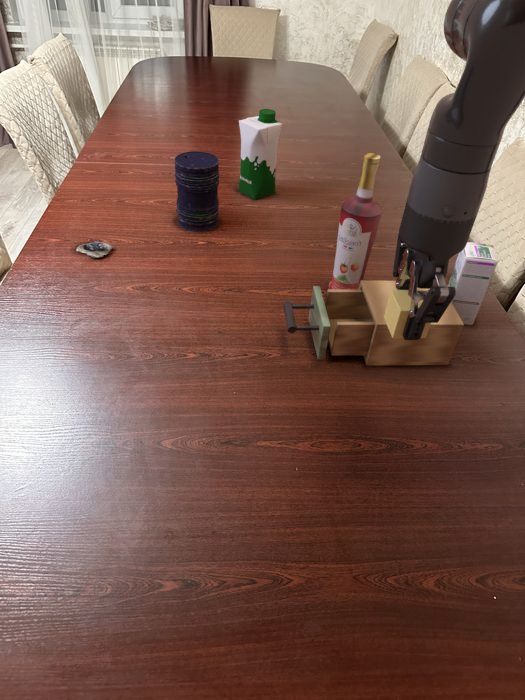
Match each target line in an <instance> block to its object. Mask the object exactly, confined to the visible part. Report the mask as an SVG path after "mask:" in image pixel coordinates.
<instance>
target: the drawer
mask: <svg viewBox="0 0 525 700" xmlns="http://www.w3.org/2000/svg"><path fill="white" fill-rule="evenodd" d="M326 291H327V292H326V297H325V300H324V296H323V292H322V289H321V286H320V285H313V286H312V293H311V298H310V299H311V300H310V304H309V303H308V304H307V303H296V304H295V303H292V302H291V301H288V300H287V301H285V302H284V303H283V312H284V317H285V323H286V324H285V325H286V329H287V332H288V333H289V334H294V333H296V332H297V331H311V335H312V340H313V344H314V348H315V349H314V350H315V353H316V358H317V360H325V358H326V353H327V348H328V347H329V351H330V354H331V356H363V355H368V351H369V347H370V343H371V339H372V335H373V332H374V328H375V323H374V320H373V318H372V315H371V312H370V310H369V307H368V304H367V301H366V299H365V296H364V293H363V291H362V290H348V289H329V288H328V289H327V290H326ZM294 310H309V312H308V322H309V325H297V323H296V319H295V314H294Z"/></svg>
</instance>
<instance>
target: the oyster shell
mask: <svg viewBox="0 0 525 700" xmlns="http://www.w3.org/2000/svg"><path fill="white" fill-rule="evenodd" d="M113 248H114V246H113V245H112V244H110V243H108V242H104V241H103V242H102V241H98V240H97V241H92V242H90V243H87V242H86V243H83V244H79V245H78V246H77V247H76V252H79V253H81V254H86V255H87V256H89V257H91V258H93V259H98V258H104V255H105V256H106V255H109V252H111V250H112V249H113Z"/></svg>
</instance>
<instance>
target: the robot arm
mask: <svg viewBox="0 0 525 700" xmlns="http://www.w3.org/2000/svg"><path fill="white" fill-rule="evenodd" d="M447 6H448V7H447V9H446V12H445V14H444V19H443V35H444V39H445V42H446V44H447V46H448V47H449V49H450V50H451V51H452V53H453V54H454V55H455V56H457V57H458V58H459V59H461V60H462V61H464V62H465V67H464V69H463V71H462V74H461V76H460V79H459V81H458V84H457V86H456V88H455V90H454V92H452V93H449V94H446V95H444V96H443V97H441V98H440V99H439V101H437V102H436V105H435V106H434V108H433V111H432V113H431V117H430V120H429V123H428V127H427V131H426V134H425V138H424V141H423V146H422V149H421V154H420V157H419V160H418V163H417V165H416V167H415V169H414V172H413V175H412V179H411V183H410V186H409V191H408V194H407V198H406V202H405V204H404V210H403V213H402V216H401V221H400V225H399V229H398V234H397V240H396V247H395V255H394V261H393V268H392V276H393V278H396V280H395V281H396V284H395V285H396V289H398V290H409V291H408V296H409V297H410V298H411V304H410V310H409V314H408V318H407V321H406V324H405V327H404V331H403V334H402V335H403V338H404V339H405V340H418V339H420V338H421V335H422V332H423V330H424V327H425V324H426V323H438V322H439V320H440V318H441V317H442V315H443V314H444V312H445V311H446V309H447V307H448V306H449V304H450V303H451V301H452V300H453V298H454V297H455V294H456V290H455V287H447V286H448V284H447V282H446V279H445V278H446V277H447V274H448V269H449V263H450V260H451V258H452V257H454V256H456V255H458V254H459V252H461V251H462V250H463V249H464V248H465V246H466V244H467V242H469V239H470V236H471V233H472V231H473V227H474V225H475V222H476V220H477V216H478V214H479V211H480V208H481V206H482V203H483V200H484V197H485V194H486V192H487V187H488V184H489V178H490V173H491V170H492V166H493V164H494V161H495V158H496V155H497V153H498V151H499V147H500V145H501V142H502V139H503V136H504V133H505V129H506V127H507V126H508V124H509V122H510V120H511V119H512V118H513V116H514V114H515V113H516V111H517V110H518V108H520V106H521V104H522V103H523V100H524V99H525V0H451V1H450V2H449V4H448V5H447ZM417 288H420V289H430V290H427V291H417ZM420 300H423V302H422V304H421V306H420V307H419V308H418V303H419V301H420Z"/></svg>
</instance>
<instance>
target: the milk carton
mask: <svg viewBox="0 0 525 700" xmlns="http://www.w3.org/2000/svg"><path fill="white" fill-rule="evenodd" d="M276 115H277V114H276V110H273V109H270V108H262V109H260V110H259V111H258V115H256V116H250V117H246V118H243V119H240V120H238V125H239V133H240V166H239V168H240V169H239V170H240V171H239V180H238V186H237V187H238V188H237V190H238V191H239V192H241V193H242V194H244V195H246V196H248V197H249V198H251V199H253V200H254V201H256V200H259V199H262V198H265V197H268V196H271V195H274V194H276V175H277V174H276V171H277V162H278V161H277V160H278V159H277V158H278V147H279V140H280V136H281V131H282V128H283V123H282V122H280V121H278V120H276Z"/></svg>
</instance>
